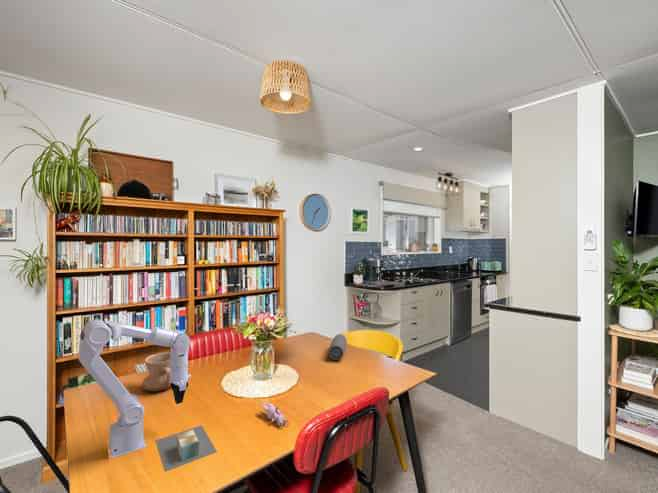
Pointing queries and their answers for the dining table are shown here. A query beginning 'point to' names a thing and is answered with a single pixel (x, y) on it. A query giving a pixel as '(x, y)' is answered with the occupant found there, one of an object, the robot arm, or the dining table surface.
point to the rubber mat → (171, 454)
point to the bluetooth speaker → (338, 347)
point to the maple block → (187, 445)
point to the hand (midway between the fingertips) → (178, 402)
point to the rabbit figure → (275, 414)
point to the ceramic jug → (157, 372)
